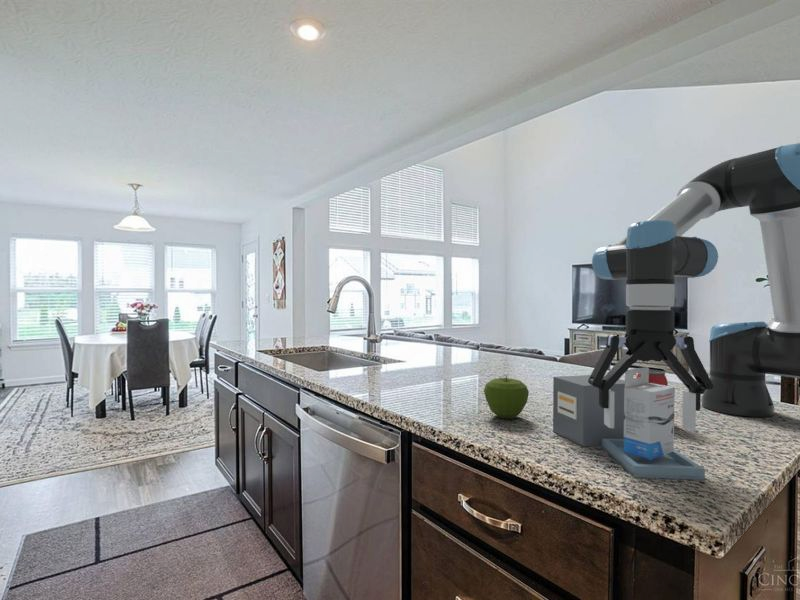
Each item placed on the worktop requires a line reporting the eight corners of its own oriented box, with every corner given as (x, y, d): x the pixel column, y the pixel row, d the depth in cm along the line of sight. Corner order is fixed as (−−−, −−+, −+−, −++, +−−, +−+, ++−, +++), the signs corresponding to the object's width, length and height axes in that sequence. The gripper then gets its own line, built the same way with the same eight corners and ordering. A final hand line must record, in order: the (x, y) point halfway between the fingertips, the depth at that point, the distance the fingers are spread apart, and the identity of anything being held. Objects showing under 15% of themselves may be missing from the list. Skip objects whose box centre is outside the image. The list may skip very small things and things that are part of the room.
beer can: (663, 419, 105) (663, 369, 105) (670, 426, 99) (671, 374, 99) (633, 416, 107) (633, 368, 107) (638, 424, 101) (638, 372, 101)
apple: (480, 411, 112) (481, 372, 112) (522, 411, 111) (522, 373, 111) (488, 423, 101) (488, 380, 101) (533, 424, 101) (533, 381, 100)
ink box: (651, 461, 73) (652, 374, 73) (622, 452, 77) (622, 370, 77) (675, 451, 78) (676, 369, 78) (646, 443, 82) (647, 366, 82)
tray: (660, 449, 84) (660, 440, 84) (704, 480, 70) (704, 468, 70) (601, 447, 85) (601, 438, 85) (633, 477, 71) (633, 466, 71)
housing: (600, 427, 98) (600, 374, 98) (634, 441, 88) (635, 383, 88) (551, 431, 95) (552, 376, 95) (581, 446, 85) (582, 385, 85)
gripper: (710, 308, 80) (709, 423, 80) (571, 307, 82) (570, 419, 82) (738, 309, 72) (737, 436, 72) (584, 308, 75) (583, 431, 75)
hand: (648, 427), depth 77 cm, fingers open, 13 cm apart
